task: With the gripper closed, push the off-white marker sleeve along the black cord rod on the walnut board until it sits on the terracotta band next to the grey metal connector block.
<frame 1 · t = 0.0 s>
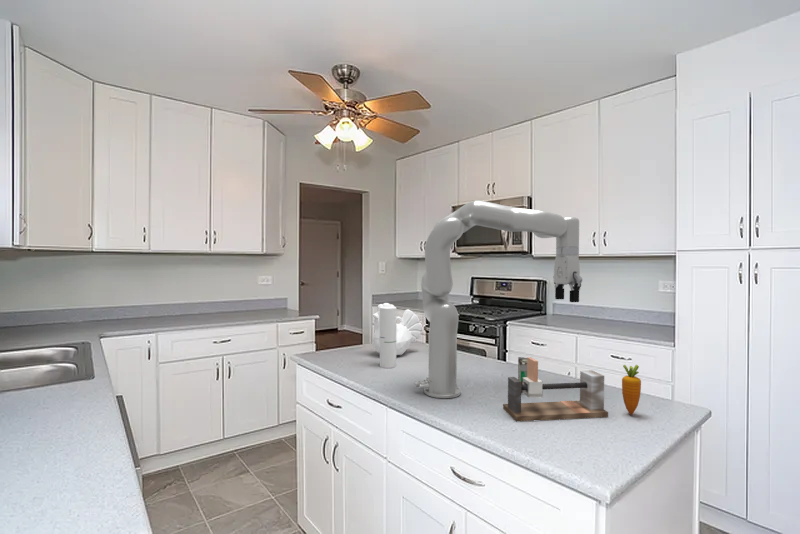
hand: (566, 300, 146), 31 cm above the worktop, tool pointing down, fingers open, 9 cm apart
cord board: (554, 412, 123), on the worktop
cylindrical container: (388, 366, 176), on the worktop
sleeve: (532, 377, 122), point 11 cm above the worktop, slide at 0.0 cm
carrot: (630, 415, 122), on the worktop
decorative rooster: (398, 355, 197), on the worktop
food container: (528, 389, 145), on the worktop
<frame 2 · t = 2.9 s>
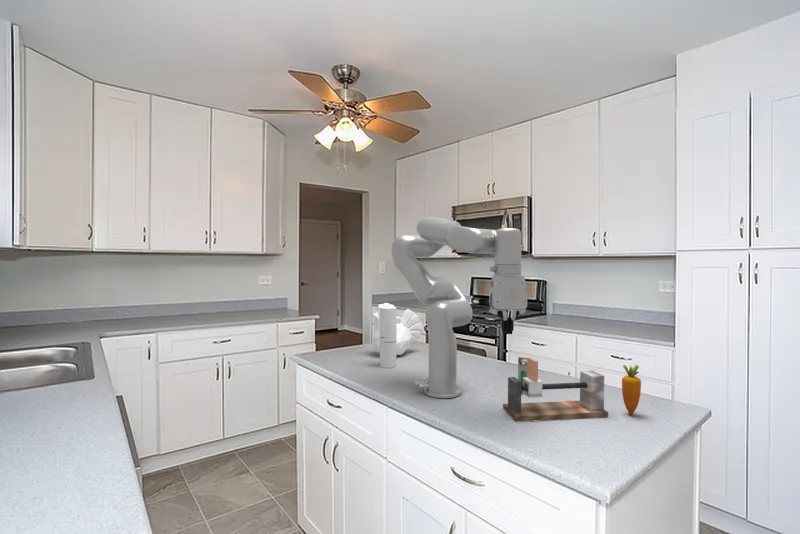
hand: (507, 333, 121), 24 cm above the worktop, tool pointing down, fingers closed
nothing on the worktop moved.
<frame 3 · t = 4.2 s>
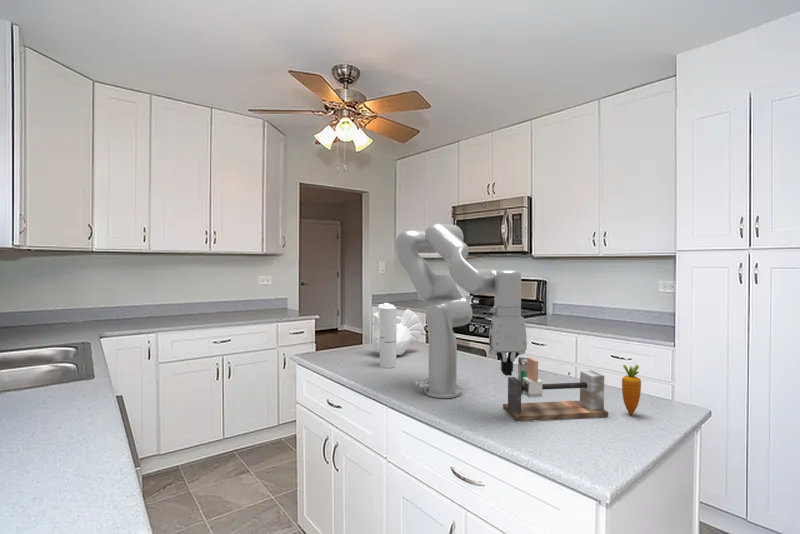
hand: (506, 374, 121), 12 cm above the worktop, tool pointing down, fingers closed
nothing on the worktop moved.
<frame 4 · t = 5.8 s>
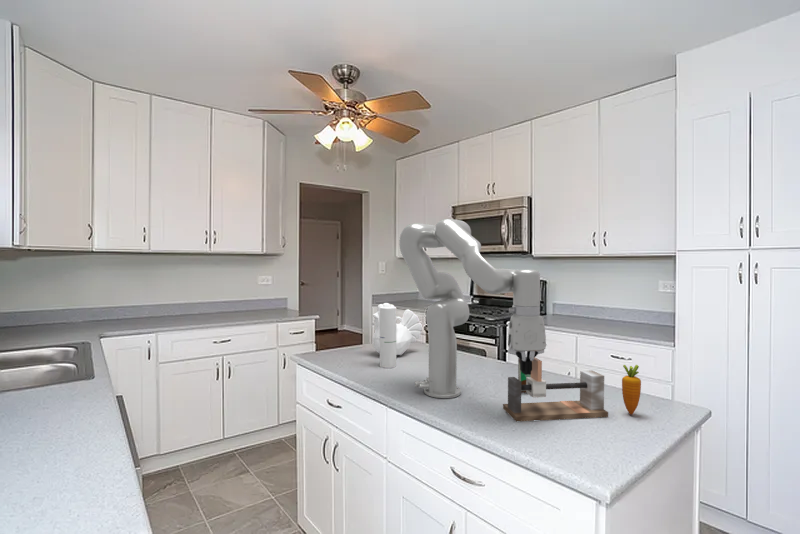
hand: (526, 373, 122), 12 cm above the worktop, tool pointing down, fingers closed
sleeve: (536, 376, 122), point 11 cm above the worktop, slide at 1.2 cm, touching gripper
everything else where it was.
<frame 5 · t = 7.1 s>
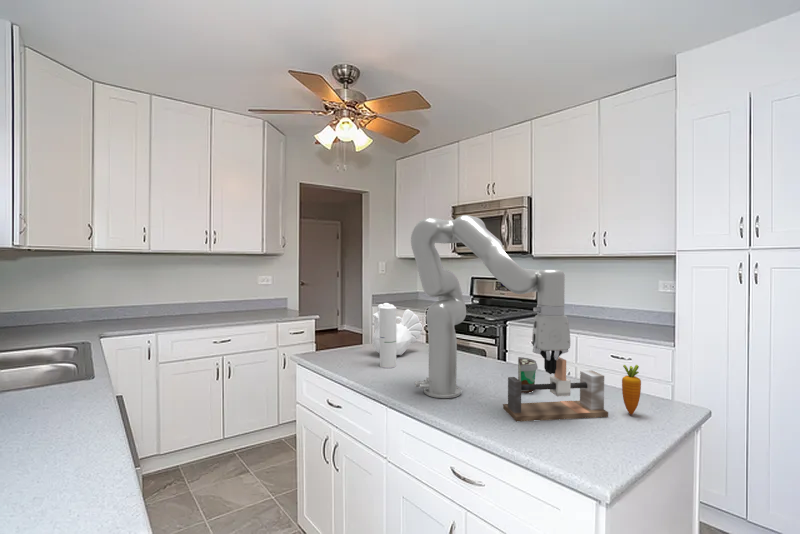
hand: (550, 372, 123), 12 cm above the worktop, tool pointing down, fingers closed
sleeve: (560, 376, 123), point 11 cm above the worktop, slide at 8.8 cm, touching gripper
everything else where it was.
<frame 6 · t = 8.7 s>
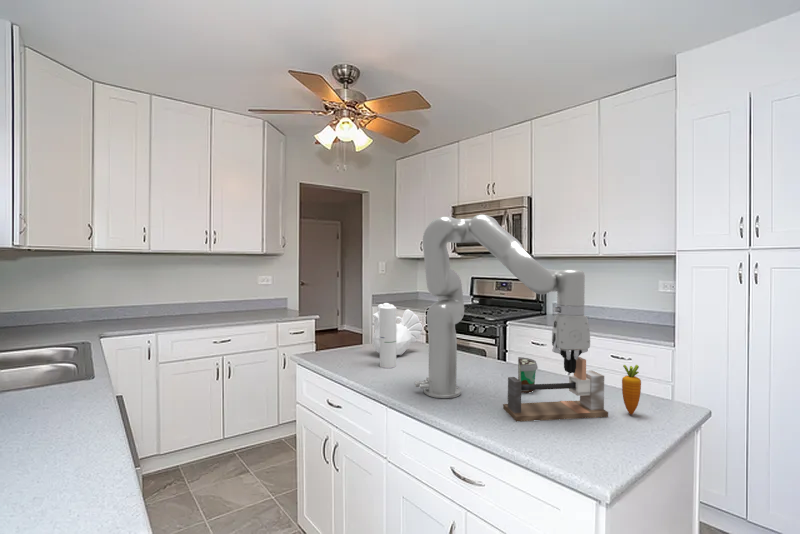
hand: (569, 371, 124), 12 cm above the worktop, tool pointing down, fingers closed
sleeve: (579, 375, 124), point 11 cm above the worktop, slide at 15.0 cm, touching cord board, gripper
everything else where it was.
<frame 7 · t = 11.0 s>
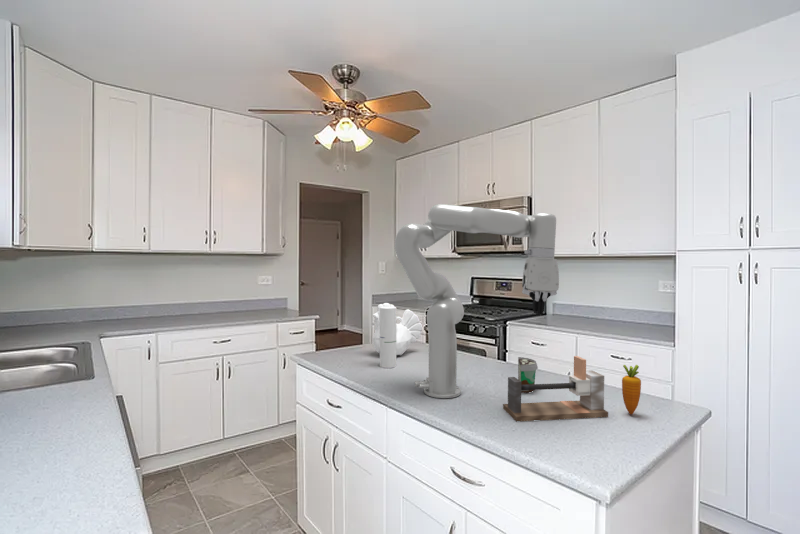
hand: (538, 313, 127), 29 cm above the worktop, tool pointing down, fingers closed
sleeve: (579, 375, 124), point 11 cm above the worktop, slide at 15.0 cm, touching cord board
everything else where it was.
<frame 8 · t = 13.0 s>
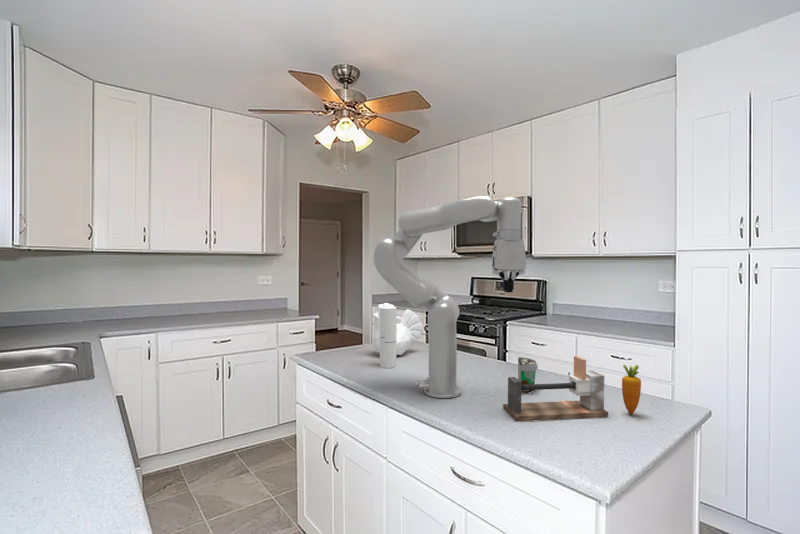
hand: (508, 292, 135), 35 cm above the worktop, tool pointing down, fingers closed
nothing on the worktop moved.
at the end: sleeve slide at 15.0 cm; sleeve 1.8 cm from the target spot, resting on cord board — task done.
